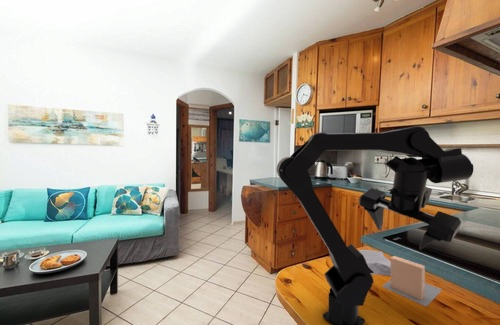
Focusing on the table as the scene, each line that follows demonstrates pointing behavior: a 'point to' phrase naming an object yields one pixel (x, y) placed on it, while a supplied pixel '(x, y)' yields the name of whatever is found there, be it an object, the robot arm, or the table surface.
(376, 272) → the stone block
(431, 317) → the table surface
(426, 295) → the mat
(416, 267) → the tile
